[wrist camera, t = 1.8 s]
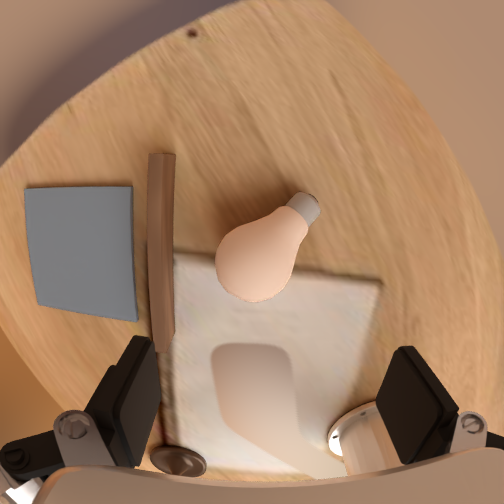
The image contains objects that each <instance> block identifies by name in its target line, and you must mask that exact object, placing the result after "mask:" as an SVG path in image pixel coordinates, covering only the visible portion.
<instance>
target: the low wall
mask: <svg viewBox="0 0 504 504" xmlns="http://www.w3.org/2000/svg"><path fill="white" fill-rule="evenodd" d="M175 160H176V155H173V154H149V162H148V189H147V249H148V276H149V294H150V309H151V321H152V332H153V342H154V344H155V352H160V353H167V351H168V348H169V346H170V343H171V341H172V338H173V336H174V334H175V317H174V289H173V207H174V179H175Z"/></svg>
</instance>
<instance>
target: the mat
mask: <svg viewBox="0 0 504 504" xmlns="http://www.w3.org/2000/svg"><path fill="white" fill-rule="evenodd" d="M24 196H25V216H26V229H27V239H28V248H29V255H30V263H31V269H32V275H33V281H34V287H35V292H36V297H37V302H38V305H42V306H47V307H52V308H56V309H61V310H66V311H72V312H77V313H82V314H88V315H94V316H100V317H106V318H112V319H118V320H125V321H132V322H137V321H138V320H139V318H138V308H137V297H136V284H135V269H134V248H133V186H86V187H47V188H27V189H24Z"/></svg>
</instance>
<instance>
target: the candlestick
mask: <svg viewBox="0 0 504 504" xmlns="http://www.w3.org/2000/svg"><path fill="white" fill-rule="evenodd" d="M150 460H151V462H152V464H153V465H154V466H155V467H156V468H158V469H159V470H161V471H163V472H165V473H167V474H170V475H177V476H184V477H198V476H201V475H203V474H204V473H205V471H206V461H205V460H204V458H203V457H202V456H200V455H199V454H197V453H196V452H194V451H191V450H189V449H186V448H183V447H178V446H170V445H165V446H158V447H156V448H154V449H153V450H152V452H151V455H150Z"/></svg>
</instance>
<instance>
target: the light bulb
mask: <svg viewBox="0 0 504 504" xmlns="http://www.w3.org/2000/svg"><path fill="white" fill-rule="evenodd" d="M320 213H321V210H320V207H319V205H318V201H317V200H316V198H315V197H314V196H312V195H310V194H306V193H303V192H297V193H296V194H295V195H294V196H293V197H292V198H291V199H290V200H289V202H288V203H287V204H286V205H285V206H281V207H278V208H277V209H276V210H275V211H273V212H272V213H271V214H270V215H268V216H265V217H263V218H261V219H258V220H256V221H253V222H250V223H247V224H244V225H241V226H238V227H236V228H235V229H233V230H232V231H231V232H229V233H228V234H226V235H225V236H224V238H223V239H222V241H221V243H220V244H219V246H218V247H217V251H216V256H215V267H216V272H217V277H218V280H219V282H220V283H221V284H222V286H223V287H224V288H225V290H226V291H227V292H228V293H230V294H232V295H234V296H236V297H238V298H240V299H242V300H244V301H247V302H260V301H264V300H267V299H270V298H272V297H273V296H275V295H276V294H277V293H279V292H280V291H281V290H283V288H284V287H285V285H286V283H287V282H288V280H289V279H290V277H291V273H292V270H293V266H294V262H295V258H296V255H297V252H298V248H299V245H300V243H301V242H302V240H303V239H304V237H305V236H306V234H307V232H308V227H309V226H310V225H311V224H312V223H313V222H314V220H315V219H316V218H317V217H318V216H319V215H320Z"/></svg>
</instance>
